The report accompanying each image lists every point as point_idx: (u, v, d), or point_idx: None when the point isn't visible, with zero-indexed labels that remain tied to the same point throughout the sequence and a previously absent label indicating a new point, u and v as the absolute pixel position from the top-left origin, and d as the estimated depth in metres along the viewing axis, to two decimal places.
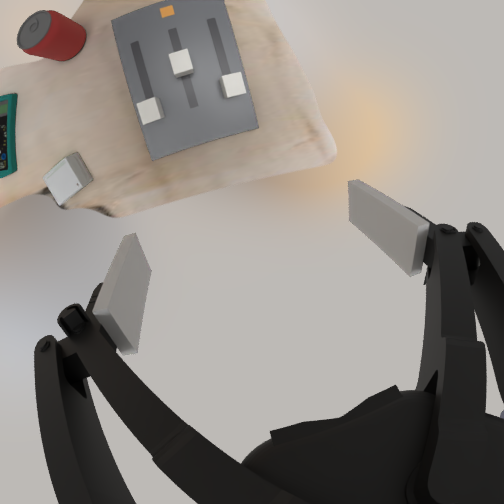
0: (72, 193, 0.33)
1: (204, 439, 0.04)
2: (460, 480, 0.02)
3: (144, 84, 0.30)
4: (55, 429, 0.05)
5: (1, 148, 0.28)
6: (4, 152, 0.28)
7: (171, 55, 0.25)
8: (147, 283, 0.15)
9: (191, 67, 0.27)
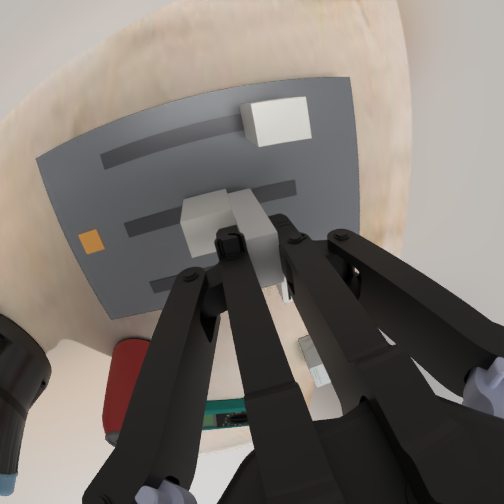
0: None
1: (302, 401, 0.05)
2: (460, 480, 0.02)
3: None
4: (162, 367, 0.07)
5: None
6: None
7: (195, 252, 0.16)
8: None
9: (229, 212, 0.15)
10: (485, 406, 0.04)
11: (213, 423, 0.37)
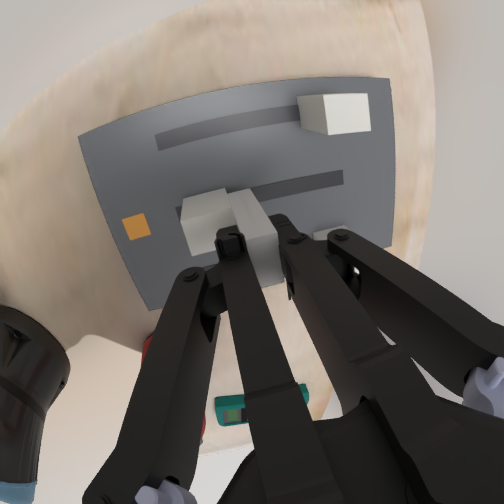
0: None
1: (303, 401, 0.05)
2: (460, 480, 0.02)
3: None
4: (162, 367, 0.07)
5: None
6: None
7: (195, 250, 0.16)
8: None
9: (228, 211, 0.15)
10: (485, 406, 0.04)
11: (238, 418, 0.38)
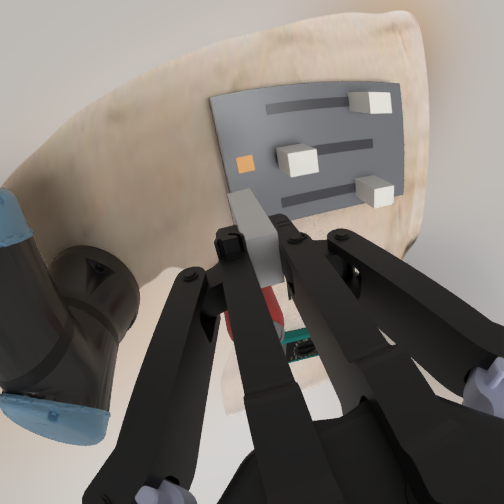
0: None
1: (302, 401, 0.05)
2: (460, 480, 0.02)
3: (337, 192, 0.32)
4: (162, 367, 0.07)
5: None
6: None
7: (293, 173, 0.26)
8: None
9: (314, 150, 0.25)
10: (485, 406, 0.04)
11: None
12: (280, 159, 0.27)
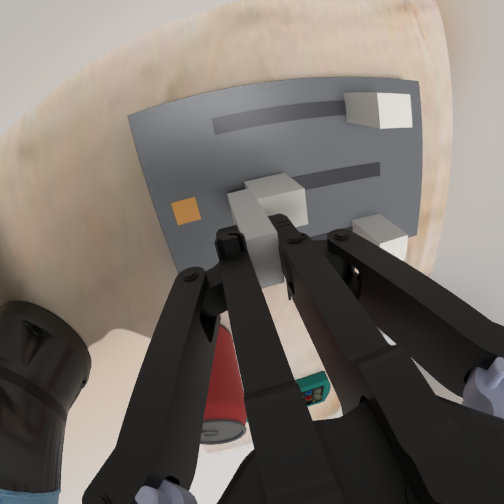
0: None
1: (303, 401, 0.05)
2: (460, 480, 0.02)
3: None
4: (162, 367, 0.07)
5: None
6: (304, 393, 0.37)
7: None
8: None
9: (301, 191, 0.16)
10: (485, 406, 0.04)
11: None
12: None
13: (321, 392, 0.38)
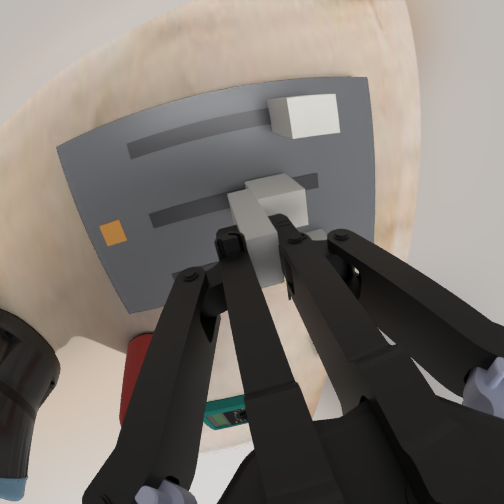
0: None
1: (303, 401, 0.05)
2: (460, 480, 0.02)
3: None
4: (162, 367, 0.07)
5: None
6: None
7: None
8: None
9: (301, 192, 0.16)
10: (485, 406, 0.04)
11: (226, 421, 0.38)
12: None
13: None
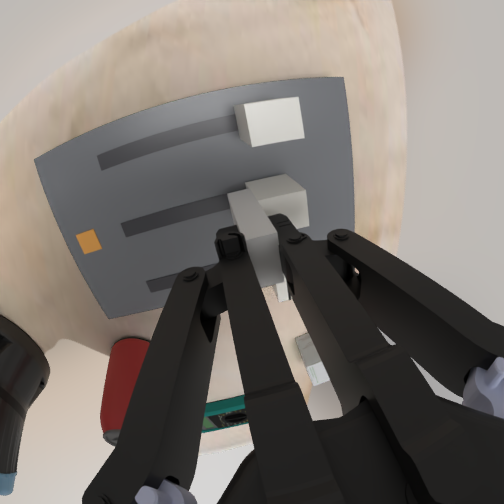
0: None
1: (303, 401, 0.05)
2: (460, 480, 0.02)
3: None
4: (162, 367, 0.07)
5: (245, 412, 0.37)
6: None
7: None
8: None
9: (302, 193, 0.16)
10: (485, 406, 0.04)
11: (213, 425, 0.38)
12: None
13: None
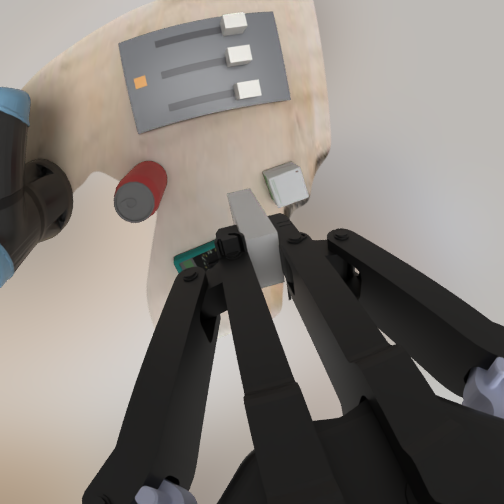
0: (302, 179, 0.42)
1: (302, 401, 0.05)
2: (460, 480, 0.02)
3: (216, 97, 0.36)
4: (162, 367, 0.07)
5: None
6: None
7: (232, 60, 0.30)
8: None
9: (247, 45, 0.29)
10: (485, 406, 0.04)
11: None
12: (226, 58, 0.31)
13: None
